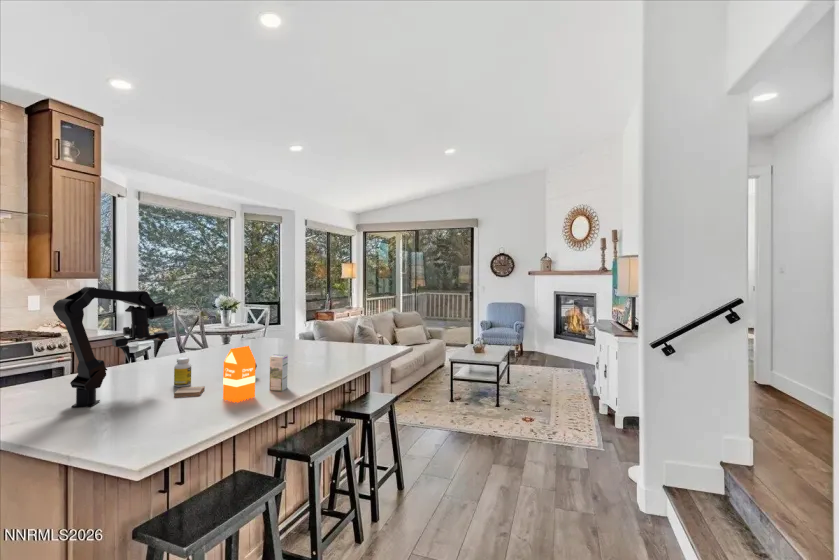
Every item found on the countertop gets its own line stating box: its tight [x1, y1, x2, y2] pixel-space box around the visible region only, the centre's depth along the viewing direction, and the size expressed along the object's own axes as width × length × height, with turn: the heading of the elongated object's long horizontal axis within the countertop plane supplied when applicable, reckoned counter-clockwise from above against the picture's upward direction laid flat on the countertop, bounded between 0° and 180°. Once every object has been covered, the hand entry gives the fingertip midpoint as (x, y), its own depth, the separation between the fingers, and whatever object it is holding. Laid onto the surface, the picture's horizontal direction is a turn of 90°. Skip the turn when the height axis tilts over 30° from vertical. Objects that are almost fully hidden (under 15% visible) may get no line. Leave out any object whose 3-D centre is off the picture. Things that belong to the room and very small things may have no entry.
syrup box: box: [269, 353, 289, 392], centre depth 182 cm, size 6×6×14 cm
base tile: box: [173, 385, 205, 398], centre depth 173 cm, size 9×9×2 cm
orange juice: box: [222, 345, 256, 403], centre depth 168 cm, size 8×9×20 cm
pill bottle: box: [173, 357, 192, 388], centre depth 185 cm, size 6×6×12 cm
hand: (142, 359), depth 175 cm, fingers open, 9 cm apart
